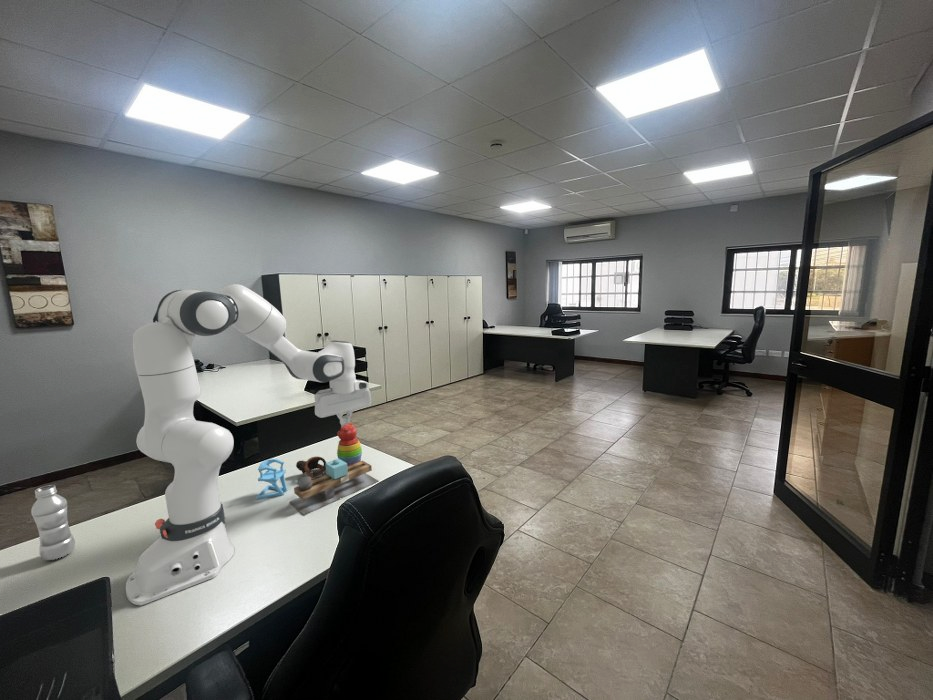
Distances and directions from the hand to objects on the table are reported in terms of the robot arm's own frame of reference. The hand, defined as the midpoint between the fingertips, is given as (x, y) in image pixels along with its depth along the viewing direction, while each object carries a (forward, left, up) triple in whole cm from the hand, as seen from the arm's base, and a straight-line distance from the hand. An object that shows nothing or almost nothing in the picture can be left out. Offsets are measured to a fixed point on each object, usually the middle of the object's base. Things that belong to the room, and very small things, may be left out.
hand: (345, 423), depth 135 cm
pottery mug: (-6, +17, -24) cm, 30 cm away
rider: (-5, -1, -19) cm, 20 cm away
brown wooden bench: (-6, -1, -23) cm, 24 cm away
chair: (-21, +15, -24) cm, 35 cm away
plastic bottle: (-73, +26, -24) cm, 81 cm away
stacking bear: (+7, +12, -24) cm, 27 cm away
